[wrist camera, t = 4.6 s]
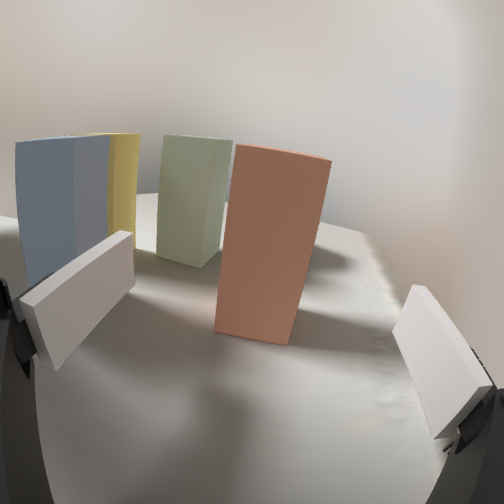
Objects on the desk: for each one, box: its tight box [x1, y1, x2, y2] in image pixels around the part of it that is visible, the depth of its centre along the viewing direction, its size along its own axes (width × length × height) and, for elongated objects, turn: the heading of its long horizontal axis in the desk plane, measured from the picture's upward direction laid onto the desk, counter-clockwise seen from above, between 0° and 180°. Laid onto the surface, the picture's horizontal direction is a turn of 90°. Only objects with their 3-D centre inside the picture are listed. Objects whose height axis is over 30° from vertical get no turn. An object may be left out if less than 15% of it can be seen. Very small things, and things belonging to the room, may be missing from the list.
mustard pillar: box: [71, 133, 140, 249], centre depth 24 cm, size 5×5×12 cm
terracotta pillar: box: [214, 144, 332, 345], centre depth 18 cm, size 5×5×12 cm
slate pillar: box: [15, 135, 110, 288], centre depth 16 cm, size 5×5×12 cm
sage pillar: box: [156, 135, 233, 268], centre depth 27 cm, size 5×5×12 cm
